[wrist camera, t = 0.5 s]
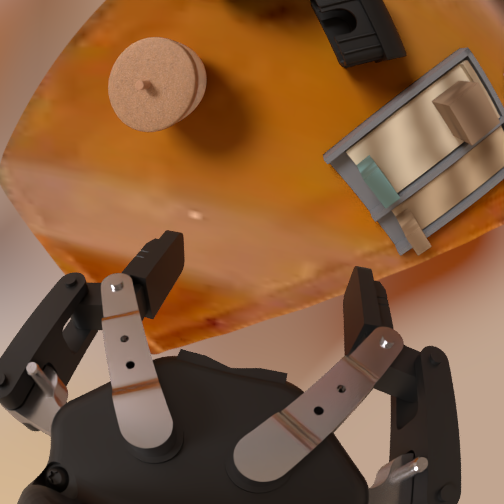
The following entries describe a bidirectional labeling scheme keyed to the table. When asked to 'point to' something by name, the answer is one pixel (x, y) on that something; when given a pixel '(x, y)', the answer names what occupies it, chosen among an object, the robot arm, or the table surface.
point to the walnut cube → (466, 111)
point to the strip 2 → (449, 188)
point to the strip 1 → (409, 139)
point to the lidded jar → (156, 84)
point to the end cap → (359, 30)
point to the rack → (386, 216)
